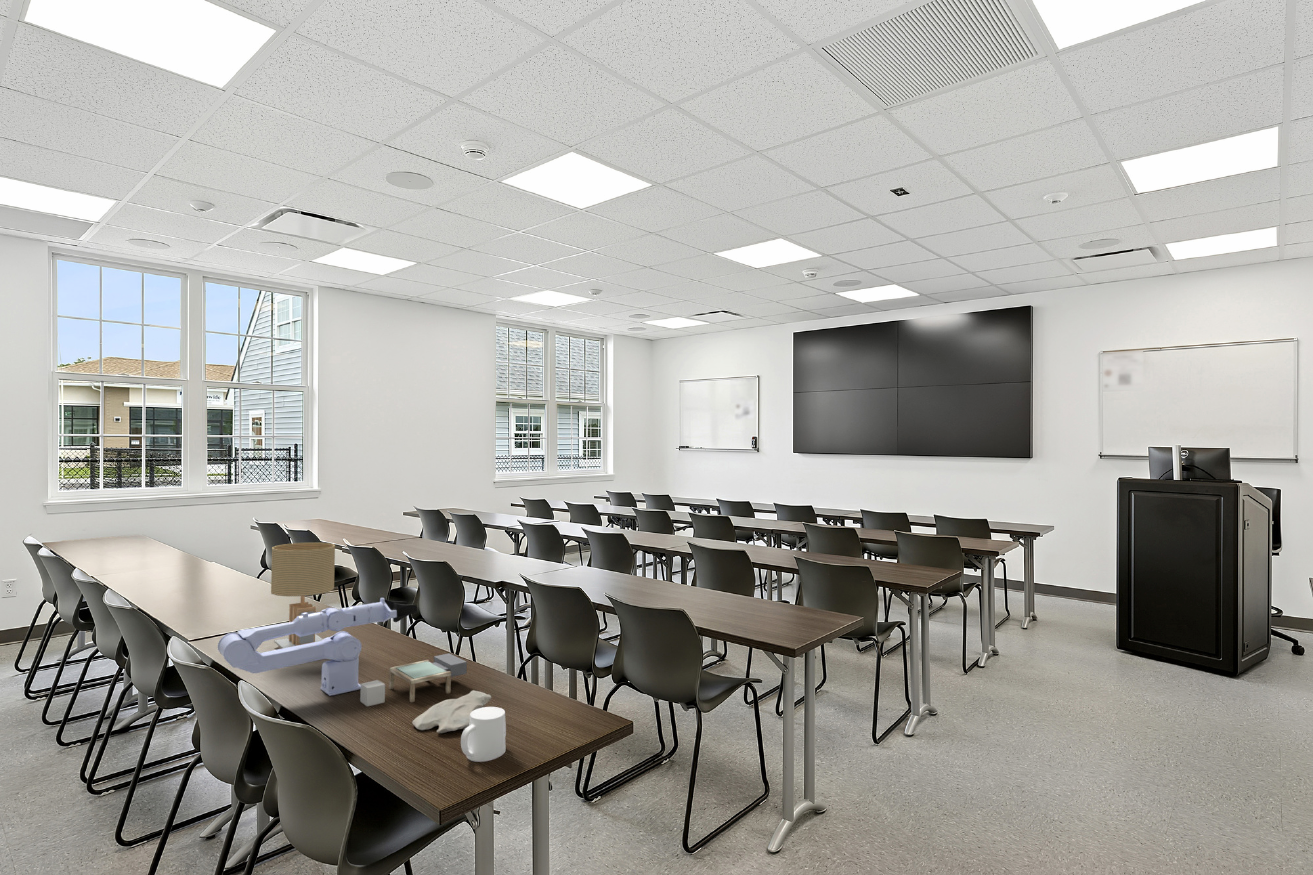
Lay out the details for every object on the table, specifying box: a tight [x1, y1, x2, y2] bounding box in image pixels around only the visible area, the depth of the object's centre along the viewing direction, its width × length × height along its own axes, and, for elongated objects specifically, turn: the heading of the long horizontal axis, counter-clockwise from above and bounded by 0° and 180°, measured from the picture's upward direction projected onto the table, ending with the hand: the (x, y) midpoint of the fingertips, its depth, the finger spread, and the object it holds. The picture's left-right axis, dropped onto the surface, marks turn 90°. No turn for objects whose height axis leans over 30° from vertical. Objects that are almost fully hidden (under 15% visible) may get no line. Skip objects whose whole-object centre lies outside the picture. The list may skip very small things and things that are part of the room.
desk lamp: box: [270, 542, 336, 649], centre depth 242 cm, size 20×20×35 cm
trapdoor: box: [396, 653, 468, 679], centre depth 207 cm, size 16×12×4 cm
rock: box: [412, 689, 493, 734], centre depth 182 cm, size 21×5×15 cm
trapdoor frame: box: [388, 659, 452, 703], centre depth 204 cm, size 12×15×6 cm
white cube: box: [359, 679, 386, 707], centre depth 195 cm, size 5×5×5 cm
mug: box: [460, 706, 507, 763], centre depth 163 cm, size 12×9×8 cm
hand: (411, 606), depth 217 cm, fingers open, 7 cm apart
